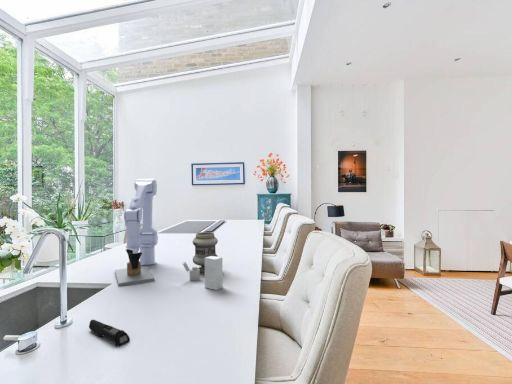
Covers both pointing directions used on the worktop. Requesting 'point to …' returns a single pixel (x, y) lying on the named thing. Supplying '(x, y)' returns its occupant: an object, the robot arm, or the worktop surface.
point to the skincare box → (213, 272)
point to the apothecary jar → (204, 248)
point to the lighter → (193, 272)
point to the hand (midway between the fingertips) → (133, 266)
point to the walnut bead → (133, 271)
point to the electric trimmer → (109, 332)
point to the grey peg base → (133, 277)
